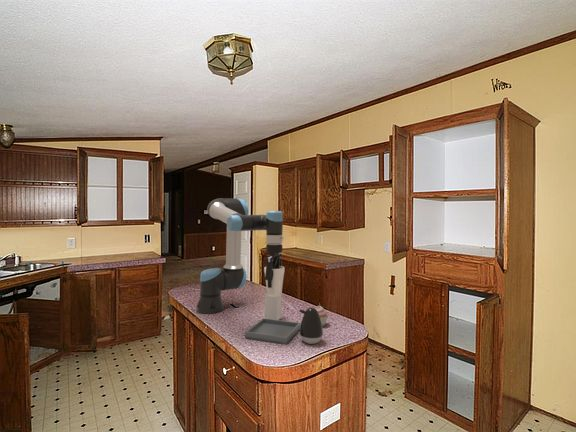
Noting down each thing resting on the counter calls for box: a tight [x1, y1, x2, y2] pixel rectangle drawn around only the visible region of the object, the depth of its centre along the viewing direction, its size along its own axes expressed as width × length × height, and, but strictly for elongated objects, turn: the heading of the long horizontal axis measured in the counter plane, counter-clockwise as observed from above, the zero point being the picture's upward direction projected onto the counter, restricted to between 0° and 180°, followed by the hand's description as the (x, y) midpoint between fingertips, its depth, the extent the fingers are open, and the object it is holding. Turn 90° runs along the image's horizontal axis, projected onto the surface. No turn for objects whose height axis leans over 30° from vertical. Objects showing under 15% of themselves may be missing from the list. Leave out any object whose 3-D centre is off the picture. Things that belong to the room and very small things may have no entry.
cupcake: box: [314, 305, 329, 327], centre depth 167 cm, size 9×9×10 cm
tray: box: [244, 317, 301, 346], centre depth 155 cm, size 20×20×3 cm
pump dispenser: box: [299, 306, 324, 345], centre depth 146 cm, size 10×10×15 cm
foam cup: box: [263, 265, 286, 297], centre depth 154 cm, size 10×9×13 cm
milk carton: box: [264, 290, 283, 320], centre depth 175 cm, size 7×7×19 cm
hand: (274, 291), depth 154 cm, fingers closed on foam cup, 9 cm apart
